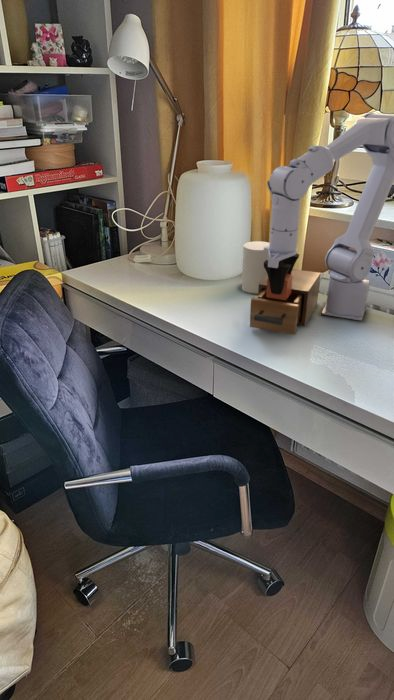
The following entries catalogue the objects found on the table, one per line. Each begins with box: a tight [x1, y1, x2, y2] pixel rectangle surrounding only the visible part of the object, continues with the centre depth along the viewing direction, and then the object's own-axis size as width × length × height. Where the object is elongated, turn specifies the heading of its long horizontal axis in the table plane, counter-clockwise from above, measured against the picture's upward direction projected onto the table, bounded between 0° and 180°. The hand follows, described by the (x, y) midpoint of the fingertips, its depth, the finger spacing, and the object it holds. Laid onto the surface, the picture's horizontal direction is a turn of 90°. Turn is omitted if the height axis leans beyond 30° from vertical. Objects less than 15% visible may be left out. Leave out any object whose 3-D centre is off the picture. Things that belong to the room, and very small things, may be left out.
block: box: [266, 274, 293, 300], centre depth 105 cm, size 4×4×4 cm
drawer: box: [249, 288, 305, 335], centre depth 108 cm, size 17×10×7 cm, turn 156°
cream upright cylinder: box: [241, 240, 270, 295], centre depth 129 cm, size 8×8×12 cm
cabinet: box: [257, 268, 321, 327], centre depth 116 cm, size 14×12×9 cm
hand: (279, 289), depth 106 cm, fingers closed on block, 4 cm apart
